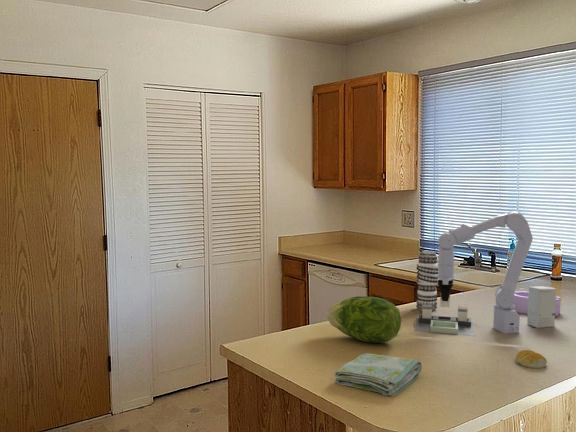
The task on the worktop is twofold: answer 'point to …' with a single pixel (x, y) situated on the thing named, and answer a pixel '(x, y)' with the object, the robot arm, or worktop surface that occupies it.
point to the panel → (445, 325)
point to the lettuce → (366, 318)
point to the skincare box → (541, 306)
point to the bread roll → (530, 359)
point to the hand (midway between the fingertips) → (445, 299)
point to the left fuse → (427, 311)
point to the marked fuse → (444, 302)
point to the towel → (379, 373)
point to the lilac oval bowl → (522, 302)
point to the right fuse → (462, 313)
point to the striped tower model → (427, 279)
